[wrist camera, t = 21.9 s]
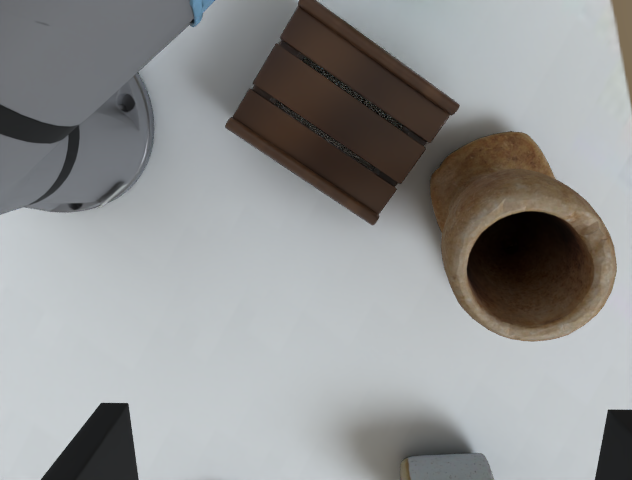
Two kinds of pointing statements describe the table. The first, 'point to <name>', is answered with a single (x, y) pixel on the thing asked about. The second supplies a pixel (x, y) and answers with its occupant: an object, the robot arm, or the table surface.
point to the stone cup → (519, 240)
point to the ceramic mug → (446, 467)
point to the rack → (340, 111)
